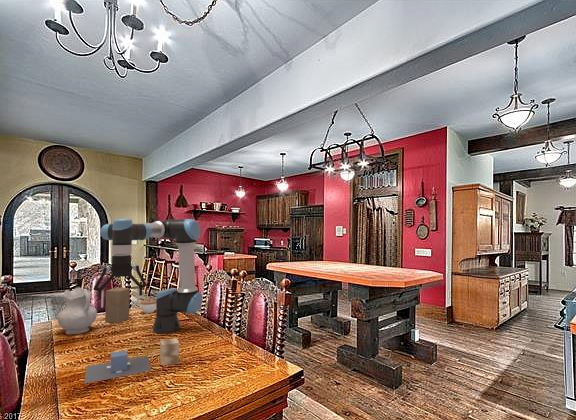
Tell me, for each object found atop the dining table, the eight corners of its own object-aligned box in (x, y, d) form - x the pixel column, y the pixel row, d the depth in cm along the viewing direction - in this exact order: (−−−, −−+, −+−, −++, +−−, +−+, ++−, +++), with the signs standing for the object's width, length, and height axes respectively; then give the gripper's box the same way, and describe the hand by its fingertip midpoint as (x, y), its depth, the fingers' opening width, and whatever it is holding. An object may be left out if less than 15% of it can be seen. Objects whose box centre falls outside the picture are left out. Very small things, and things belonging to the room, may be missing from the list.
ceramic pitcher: (106, 330, 195) (110, 287, 199) (75, 338, 177) (80, 291, 180) (79, 327, 202) (83, 285, 206) (47, 334, 184) (52, 288, 187)
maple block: (176, 358, 152) (176, 338, 153) (178, 363, 146) (179, 342, 146) (159, 360, 149) (160, 340, 149) (162, 366, 143) (162, 345, 143)
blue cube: (126, 364, 144) (126, 350, 144) (127, 369, 139) (127, 354, 139) (110, 367, 141) (111, 352, 141) (110, 372, 136) (111, 357, 136)
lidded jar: (143, 310, 239) (143, 297, 239) (158, 310, 240) (159, 297, 240) (138, 314, 228) (138, 300, 229) (154, 314, 229) (154, 300, 230)
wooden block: (118, 323, 207) (119, 290, 208) (104, 322, 209) (105, 290, 210) (129, 318, 217) (130, 288, 218) (115, 318, 219) (116, 287, 220)
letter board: (147, 356, 153) (147, 355, 153) (151, 371, 138) (151, 370, 138) (86, 367, 142) (86, 366, 142) (83, 384, 126) (84, 383, 126)
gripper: (152, 253, 152) (151, 300, 150) (88, 255, 140) (86, 306, 139) (154, 254, 145) (152, 303, 144) (87, 256, 133) (85, 310, 132)
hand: (120, 305), depth 141 cm, fingers open, 13 cm apart
